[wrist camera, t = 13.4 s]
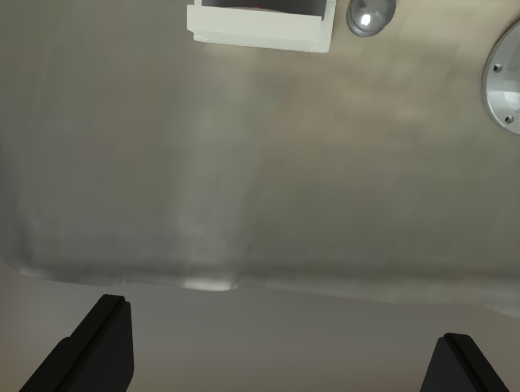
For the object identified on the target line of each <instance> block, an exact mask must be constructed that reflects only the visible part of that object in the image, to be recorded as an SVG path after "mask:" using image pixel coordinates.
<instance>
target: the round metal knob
mask: <svg viewBox="0 0 520 392" xmlns="http://www.w3.org/2000/svg"><path fill="white" fill-rule="evenodd" d="M395 8H396V1H395V0H352V1H351V3H350V4H349V6H348V9H347V13H346V21H347V25H348V27H349V29H350V30H351V32H352V33H354V34H355V35H357V36H360V37H369V36H373V35H375V34H377V33H379V32H380V31H381V30H382V29H383V28H384V27H385V26H386V25H387V24H388V23H389V22H390V21H391V19H392V17H393V15H394V12H395Z"/></svg>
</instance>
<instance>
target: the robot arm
mask: <svg viewBox="0 0 520 392" xmlns="http://www.w3.org/2000/svg"><path fill="white" fill-rule="evenodd" d="M494 66H495V69H494V70H493V68H494ZM482 96H483V100H484V104H485V107H486V109H487V111H488V113H489V115H490V116H491V117H492V119H493V120H494V121H495V122H496V123H497V124H498V125H500V126H501V127H502V128H504V129H506V130H508V131H510V132H513V133H515V134H519V135H520V20H519V21H518V22H516V23H515V24H514V25H513V26H512V27H511V28H510V29H509V30H508V31H507V32H506V33H504V35H503V36H502V37H501V39H500V40H499V41H498V42H497V44H496V45H495V47H494V48H493V50H492V52H491V54H490V56H489V58H488V60H487V63H486V66H485V69H484V73H483V79H482ZM505 118H506V120H505ZM133 357H134V356H133V339H132V322H131V306H130V302H126V301H125V298H124V296H117V295H108V294H105V295H103V296H102V297H101V298H100V299H99V300H98V302H97V303H96V304H95V306H94V307H93V308H92V309H91V310H90V312H89V313H88V314H87V316H86V317H85V318H84V319H83V320H82V322H81V323H80V324H79V326H78V327H77V328H76V329H75V331H74V332H73V333H72V334H71V336H70V337H66V338H64V339H62V340H61V341H60V342H59V343H58V344H57V345H56V347H55V348H54V349H53V350H52V352H51V353H50V354H49V355H48V356H47V358H46V359H45V360H44V362H43V363H42V364H41V365H40V366H39V368H38V369H37V370H36V371H35V372H34V374H33V375H32V376H31V377H30V378H29V380H28V381H27V382H26V384H25V385H24V386H23V387H22V388H21V389H20V391H19V392H126V390H127V388H128V386H129V384H130V382H131V380H132V377H133V372H134V358H133ZM420 392H509V390H508V389H507V387H506V386H505V385H504V383H503V382H502V380H501V379H500V378H499V376H498V375H497V373H496V372H495V370H494V369H493V368H492V366H491V365H490V363H489V362H488V361H487V359H486V358H485V357H484V355H483V353H482V352H481V351H480V349H479V348H478V346H477V345H476V344H475V342H474V341H473V339H472V338H471V337H470V336H468V335H464V334H456V333H446V334H445V335H444V336H443V337H440V338H439V339H438V341H437V344H436V347H435V350H434V352H433V355H432V358H431V361H430V364H429V367H428V370H427V372H426V376H425V379H424V381H423V384H422V387H421V390H420Z"/></svg>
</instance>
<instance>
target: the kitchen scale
mask: <svg viewBox="0 0 520 392" xmlns="http://www.w3.org/2000/svg"><path fill="white" fill-rule="evenodd" d="M335 6H336V0H327V1H326V9H325V16H324V20H323V21H321V18H322V17H321V16H310V15H299V14H289V13H285V12H280V11H275V10H268V9H260V8H259V7H258V6H254V8H248V7H228V8H220V7H209V6H202V0H194V5H187V30H190V31H192V32H194V39H195V40H197V41H200V42H210V43H221V44H231V45H242V46H253V47H264V48H275V49H286V50H297V51H308V52H319V53H326V52H329V46H330V40H331V33H332V26H333V19H334V12H335Z"/></svg>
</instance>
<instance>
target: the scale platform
mask: <svg viewBox="0 0 520 392" xmlns="http://www.w3.org/2000/svg"><path fill="white" fill-rule="evenodd" d="M326 1H327V0H202V6H209V7H220V8H228V7H248V8H254V6H258V7H259V8H260V9H268V10H275V11H280V12H285V13H289V14H299V15H310V16H321V17H322V18H321V21H323V20H324V16H325V9H326Z"/></svg>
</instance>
